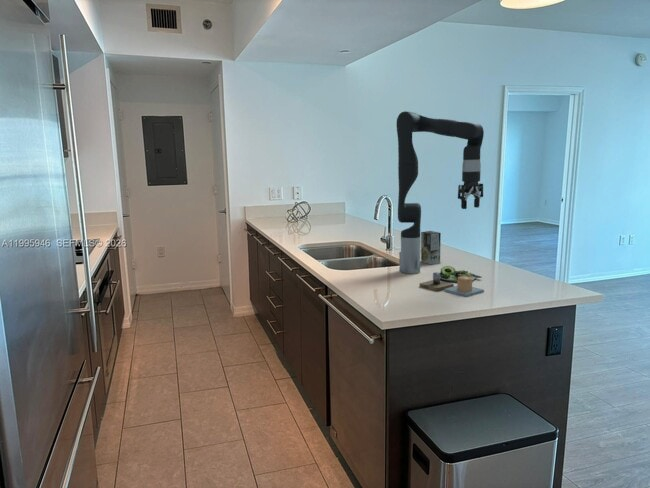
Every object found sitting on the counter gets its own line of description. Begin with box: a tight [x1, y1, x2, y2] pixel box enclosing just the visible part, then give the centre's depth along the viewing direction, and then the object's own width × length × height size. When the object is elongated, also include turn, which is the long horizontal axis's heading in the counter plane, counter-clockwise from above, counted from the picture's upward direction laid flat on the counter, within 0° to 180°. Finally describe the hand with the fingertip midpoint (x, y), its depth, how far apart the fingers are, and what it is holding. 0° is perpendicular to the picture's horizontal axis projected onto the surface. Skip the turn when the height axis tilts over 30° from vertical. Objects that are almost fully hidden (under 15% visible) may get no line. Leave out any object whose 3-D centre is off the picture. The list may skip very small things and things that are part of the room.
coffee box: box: [420, 230, 441, 265], centre depth 248 cm, size 9×6×16 cm
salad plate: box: [439, 265, 483, 284], centre depth 215 cm, size 19×18×5 cm
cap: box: [456, 276, 473, 291], centre depth 193 cm, size 6×6×5 cm
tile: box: [444, 285, 485, 298], centre depth 193 cm, size 11×11×1 cm
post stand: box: [419, 272, 455, 292], centre depth 201 cm, size 10×10×6 cm
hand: (470, 208), depth 206 cm, fingers open, 8 cm apart
